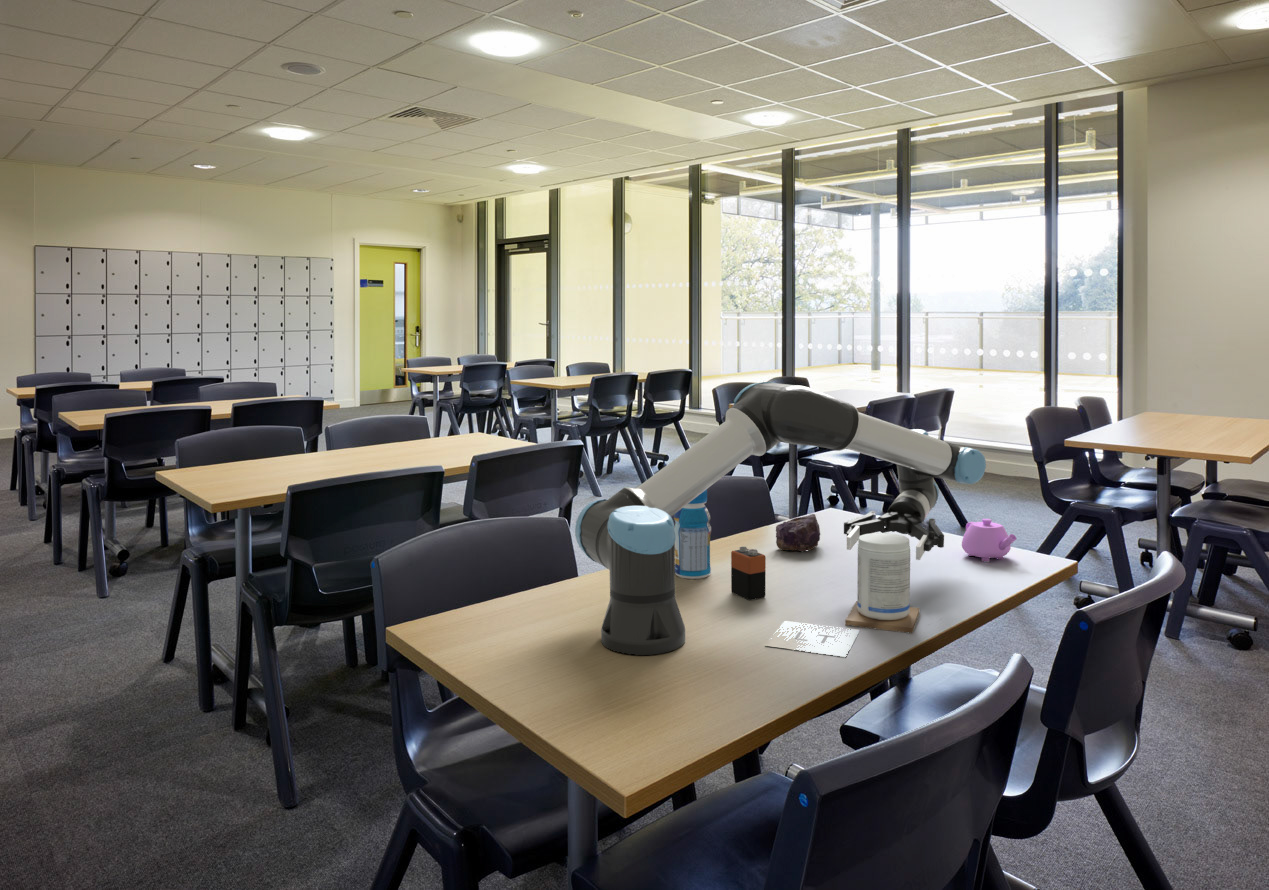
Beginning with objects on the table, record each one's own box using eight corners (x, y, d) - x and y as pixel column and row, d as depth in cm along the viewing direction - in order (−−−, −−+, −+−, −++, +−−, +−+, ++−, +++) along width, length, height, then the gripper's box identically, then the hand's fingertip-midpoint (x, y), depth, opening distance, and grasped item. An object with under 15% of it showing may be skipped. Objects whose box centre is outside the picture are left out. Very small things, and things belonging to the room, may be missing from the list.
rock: (773, 552, 216) (794, 560, 207) (768, 519, 215) (788, 527, 206) (813, 540, 220) (835, 548, 211) (808, 508, 219) (830, 515, 209)
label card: (764, 646, 149) (764, 645, 149) (784, 621, 161) (784, 620, 161) (845, 657, 143) (845, 657, 143) (859, 630, 156) (859, 629, 156)
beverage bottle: (691, 582, 187) (690, 493, 185) (666, 574, 194) (665, 487, 191) (719, 575, 192) (718, 488, 190) (693, 567, 199) (692, 483, 196)
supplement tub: (919, 615, 160) (922, 539, 158) (886, 625, 155) (888, 547, 153) (879, 602, 168) (881, 529, 166) (845, 611, 163) (847, 536, 161)
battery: (749, 601, 174) (749, 553, 172) (730, 592, 180) (730, 546, 178) (766, 597, 176) (766, 550, 174) (747, 589, 182) (747, 543, 180)
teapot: (980, 548, 212) (982, 511, 210) (1030, 563, 198) (1032, 523, 197) (948, 553, 208) (949, 516, 206) (996, 568, 194) (998, 528, 193)
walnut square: (845, 625, 159) (845, 619, 159) (856, 605, 170) (856, 600, 169) (912, 633, 154) (912, 628, 154) (919, 612, 165) (919, 607, 165)
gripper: (967, 536, 180) (947, 575, 163) (851, 521, 193) (821, 556, 175) (969, 503, 178) (949, 539, 161) (851, 489, 191) (821, 522, 173)
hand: (882, 548), depth 168 cm, fingers open, 13 cm apart
